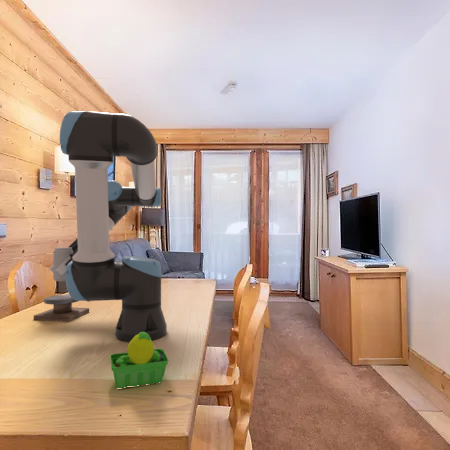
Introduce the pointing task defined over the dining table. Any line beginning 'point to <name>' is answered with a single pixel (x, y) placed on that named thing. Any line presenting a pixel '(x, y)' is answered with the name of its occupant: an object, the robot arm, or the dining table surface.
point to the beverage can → (60, 261)
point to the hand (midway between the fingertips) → (55, 271)
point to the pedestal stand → (61, 309)
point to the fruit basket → (139, 363)
